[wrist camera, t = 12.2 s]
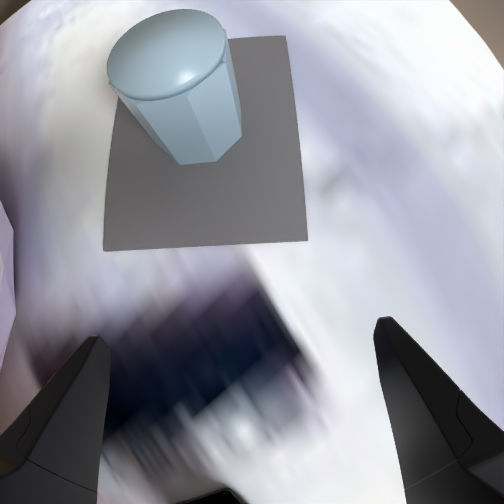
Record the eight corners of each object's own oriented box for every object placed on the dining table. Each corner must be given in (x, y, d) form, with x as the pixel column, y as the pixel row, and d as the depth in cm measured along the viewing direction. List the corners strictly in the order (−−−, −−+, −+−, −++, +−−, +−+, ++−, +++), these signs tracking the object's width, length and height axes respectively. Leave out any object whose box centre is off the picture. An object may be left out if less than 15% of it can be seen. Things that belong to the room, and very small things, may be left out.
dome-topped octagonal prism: (242, 159, 24) (223, 82, 14) (155, 168, 24) (96, 105, 14) (240, 87, 25) (224, 2, 15) (161, 97, 25) (118, 23, 15)
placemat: (307, 241, 23) (307, 240, 23) (105, 251, 24) (103, 251, 24) (285, 38, 26) (285, 35, 25) (128, 59, 27) (127, 57, 26)
